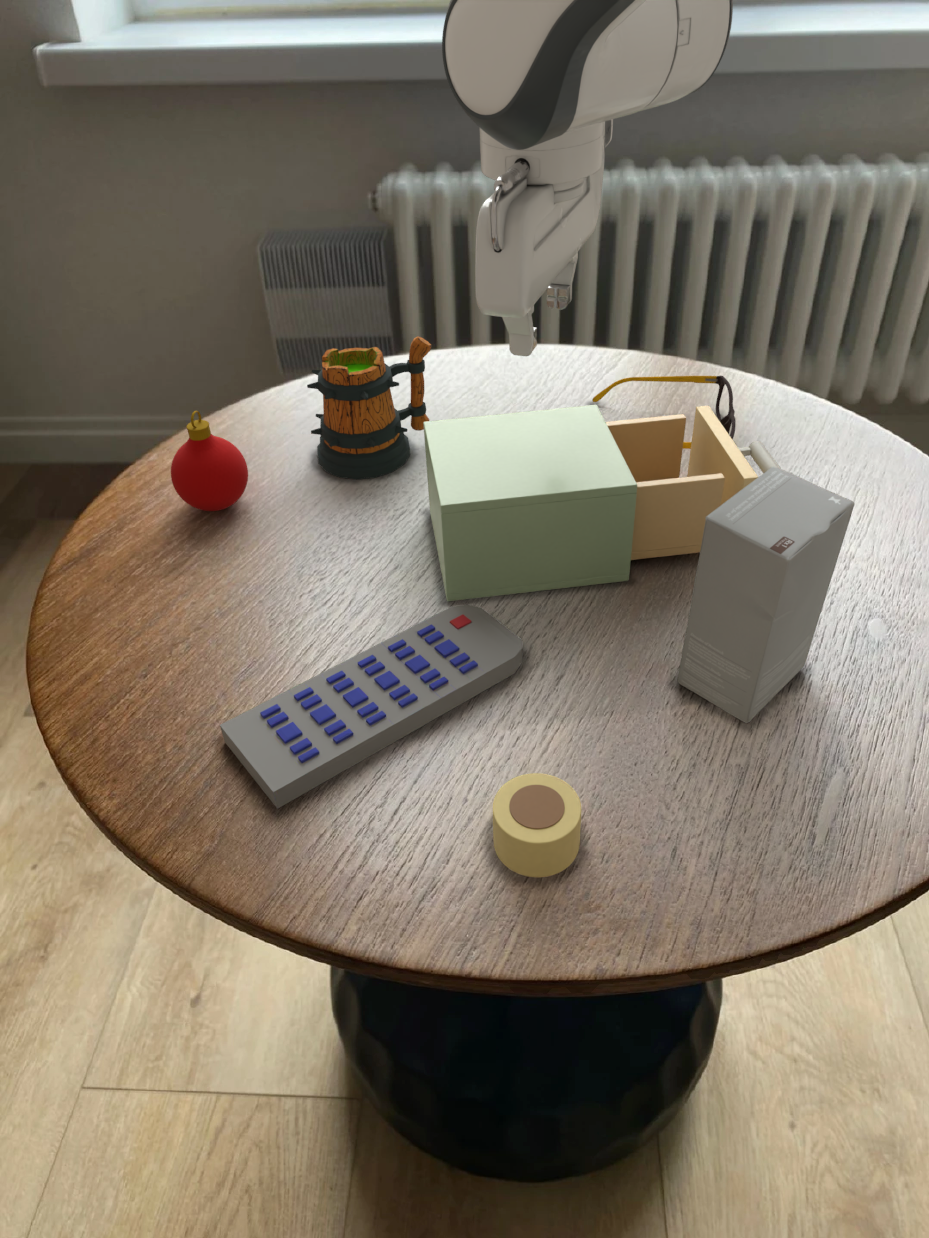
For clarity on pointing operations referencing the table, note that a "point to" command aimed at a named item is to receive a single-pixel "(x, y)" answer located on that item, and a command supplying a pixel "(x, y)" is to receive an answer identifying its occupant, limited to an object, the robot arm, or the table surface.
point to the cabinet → (529, 502)
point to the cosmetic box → (760, 589)
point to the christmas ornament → (208, 469)
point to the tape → (536, 824)
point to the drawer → (681, 504)
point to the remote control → (371, 700)
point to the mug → (366, 410)
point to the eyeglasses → (696, 379)
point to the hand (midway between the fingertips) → (542, 328)
